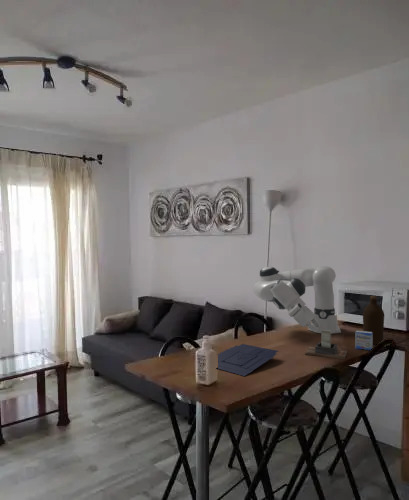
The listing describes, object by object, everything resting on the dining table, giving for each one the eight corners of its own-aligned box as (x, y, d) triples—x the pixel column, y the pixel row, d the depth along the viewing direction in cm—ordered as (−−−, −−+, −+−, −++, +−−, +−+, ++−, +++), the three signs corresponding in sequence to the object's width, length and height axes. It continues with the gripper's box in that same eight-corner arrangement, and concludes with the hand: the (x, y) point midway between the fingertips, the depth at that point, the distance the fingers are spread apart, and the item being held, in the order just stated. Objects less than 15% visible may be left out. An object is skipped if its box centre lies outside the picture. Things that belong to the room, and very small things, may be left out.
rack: (309, 348, 203) (309, 340, 202) (347, 352, 195) (347, 344, 195) (305, 354, 192) (305, 346, 192) (344, 359, 184) (344, 350, 184)
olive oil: (378, 346, 205) (378, 298, 205) (358, 342, 214) (358, 296, 213) (388, 343, 212) (388, 296, 212) (369, 339, 220) (369, 294, 220)
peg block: (322, 350, 196) (322, 329, 196) (331, 350, 194) (331, 330, 194) (321, 352, 192) (321, 331, 192) (330, 353, 191) (329, 332, 191)
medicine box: (355, 348, 202) (355, 331, 202) (356, 346, 206) (356, 330, 206) (371, 350, 198) (371, 333, 198) (372, 348, 202) (372, 331, 202)
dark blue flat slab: (282, 357, 184) (282, 349, 183) (245, 382, 161) (244, 374, 161) (239, 348, 200) (239, 341, 199) (200, 370, 177) (199, 362, 177)
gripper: (296, 308, 209) (316, 328, 205) (287, 315, 190) (308, 337, 186) (305, 300, 207) (325, 320, 203) (297, 306, 188) (318, 328, 184)
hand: (317, 328), depth 194 cm, fingers open, 8 cm apart
